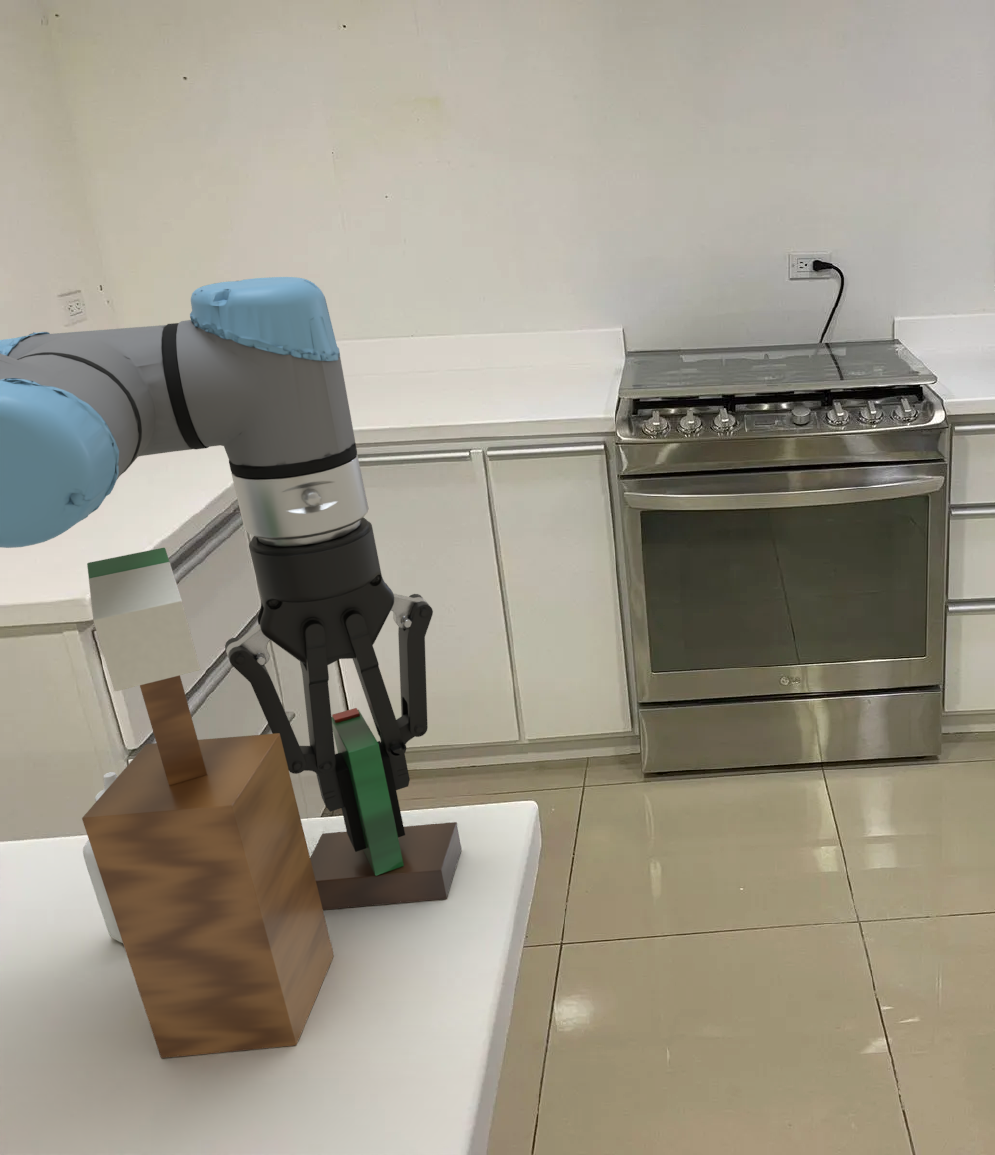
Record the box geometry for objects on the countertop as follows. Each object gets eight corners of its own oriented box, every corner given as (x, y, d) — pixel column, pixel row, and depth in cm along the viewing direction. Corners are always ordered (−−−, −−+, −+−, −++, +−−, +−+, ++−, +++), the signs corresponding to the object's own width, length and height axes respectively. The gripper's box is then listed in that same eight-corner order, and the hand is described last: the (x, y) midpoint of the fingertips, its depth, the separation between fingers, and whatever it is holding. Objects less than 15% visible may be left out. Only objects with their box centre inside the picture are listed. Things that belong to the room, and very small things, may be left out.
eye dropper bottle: (110, 918, 80) (61, 773, 76) (196, 890, 83) (154, 748, 78) (111, 953, 77) (60, 803, 72) (201, 923, 79) (157, 776, 75)
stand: (160, 1058, 67) (37, 686, 58) (212, 966, 75) (110, 623, 65) (296, 1045, 68) (196, 674, 58) (334, 955, 75) (250, 613, 66)
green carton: (404, 866, 80) (378, 740, 76) (375, 876, 79) (347, 749, 75) (383, 826, 85) (357, 706, 81) (356, 835, 84) (329, 714, 80)
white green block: (200, 670, 59) (182, 600, 57) (114, 692, 57) (93, 620, 56) (181, 609, 67) (164, 546, 65) (105, 627, 65) (86, 562, 64)
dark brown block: (304, 911, 80) (296, 882, 79) (328, 860, 85) (321, 833, 84) (446, 899, 80) (441, 870, 79) (461, 849, 86) (456, 821, 85)
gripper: (187, 570, 66) (273, 900, 75) (442, 516, 73) (494, 823, 82) (175, 536, 72) (256, 845, 81) (411, 489, 79) (463, 778, 88)
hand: (376, 833), depth 81 cm, fingers closed on green carton, 2 cm apart
